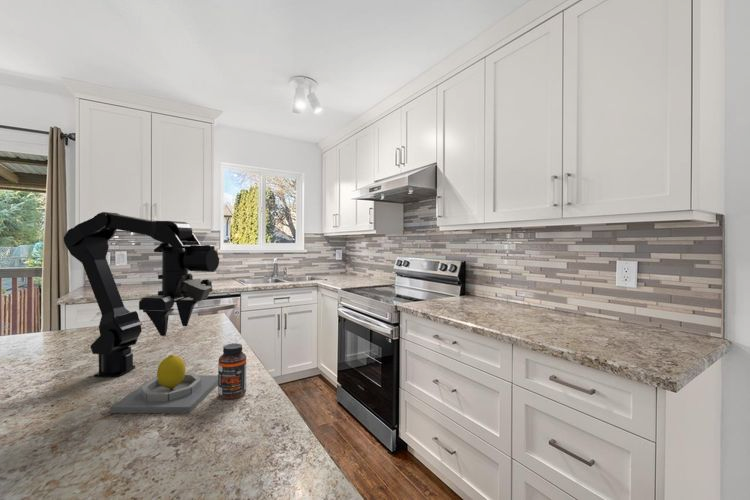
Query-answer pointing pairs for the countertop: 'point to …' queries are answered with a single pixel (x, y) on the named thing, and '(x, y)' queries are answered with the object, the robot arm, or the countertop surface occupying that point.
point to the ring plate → (167, 396)
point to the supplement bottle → (232, 372)
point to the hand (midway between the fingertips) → (174, 330)
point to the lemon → (171, 372)
